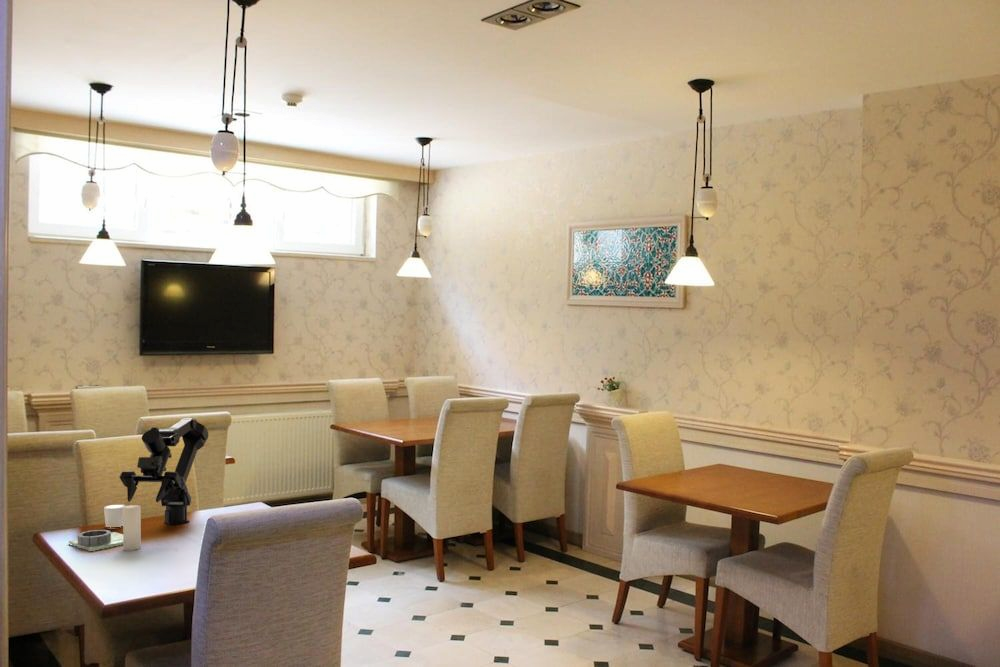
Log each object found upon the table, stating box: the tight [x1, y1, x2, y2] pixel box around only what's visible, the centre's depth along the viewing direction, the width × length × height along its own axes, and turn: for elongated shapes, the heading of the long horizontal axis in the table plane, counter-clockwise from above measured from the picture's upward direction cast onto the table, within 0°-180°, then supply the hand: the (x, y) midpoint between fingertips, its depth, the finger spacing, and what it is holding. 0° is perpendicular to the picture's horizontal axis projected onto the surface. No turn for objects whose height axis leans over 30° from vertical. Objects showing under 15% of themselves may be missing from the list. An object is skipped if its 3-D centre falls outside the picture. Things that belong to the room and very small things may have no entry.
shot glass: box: [103, 503, 126, 529], centre depth 294 cm, size 7×7×7 cm
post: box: [122, 504, 142, 551], centre depth 266 cm, size 5×5×13 cm
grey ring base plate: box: [68, 529, 123, 552], centre depth 272 cm, size 15×14×4 cm
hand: (142, 501), depth 273 cm, fingers open, 9 cm apart
